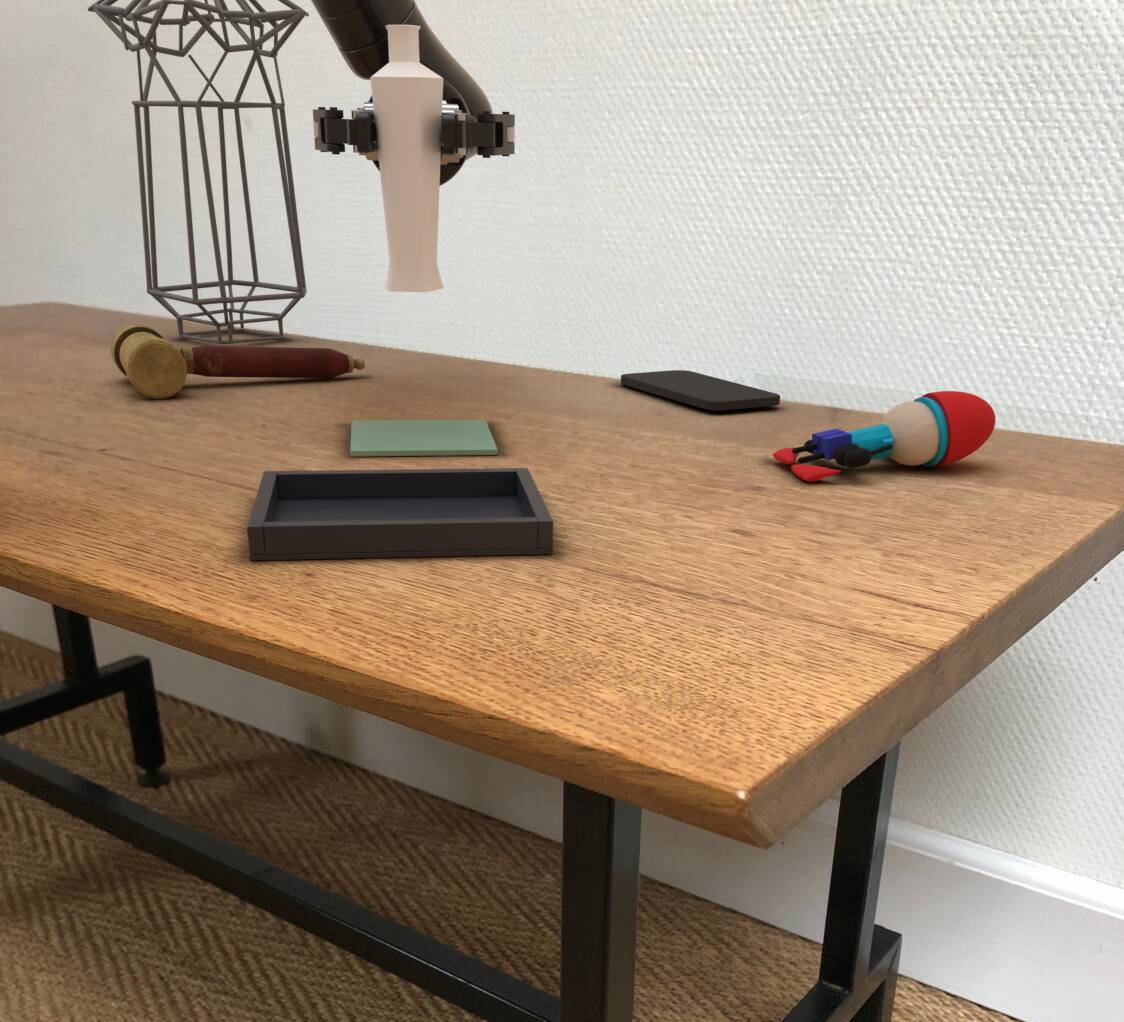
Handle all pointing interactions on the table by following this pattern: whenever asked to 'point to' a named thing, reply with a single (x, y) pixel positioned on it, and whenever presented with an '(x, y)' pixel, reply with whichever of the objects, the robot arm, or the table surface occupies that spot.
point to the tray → (398, 514)
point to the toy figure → (903, 436)
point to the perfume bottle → (409, 160)
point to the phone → (700, 390)
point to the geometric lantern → (234, 18)
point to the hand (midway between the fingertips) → (406, 133)
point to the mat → (421, 438)
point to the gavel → (215, 361)
